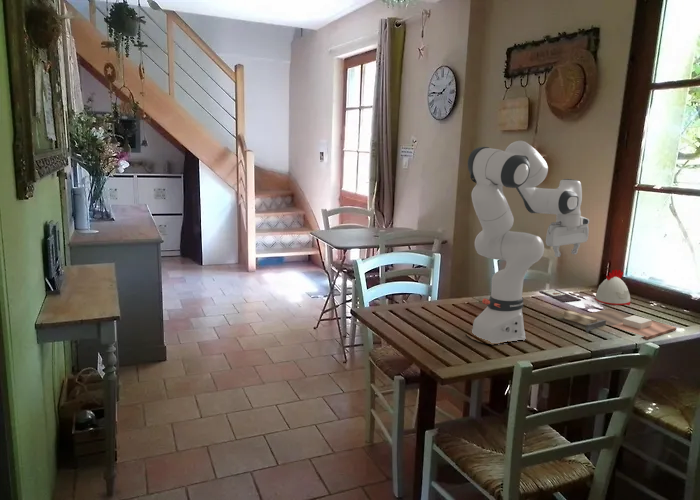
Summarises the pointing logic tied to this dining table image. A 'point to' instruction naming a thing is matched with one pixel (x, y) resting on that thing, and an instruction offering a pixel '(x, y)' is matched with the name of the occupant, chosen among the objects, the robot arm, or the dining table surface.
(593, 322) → the squeegee
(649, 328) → the board
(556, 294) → the chocolate bar
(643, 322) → the tile
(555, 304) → the dining table surface
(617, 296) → the kitchen timer
